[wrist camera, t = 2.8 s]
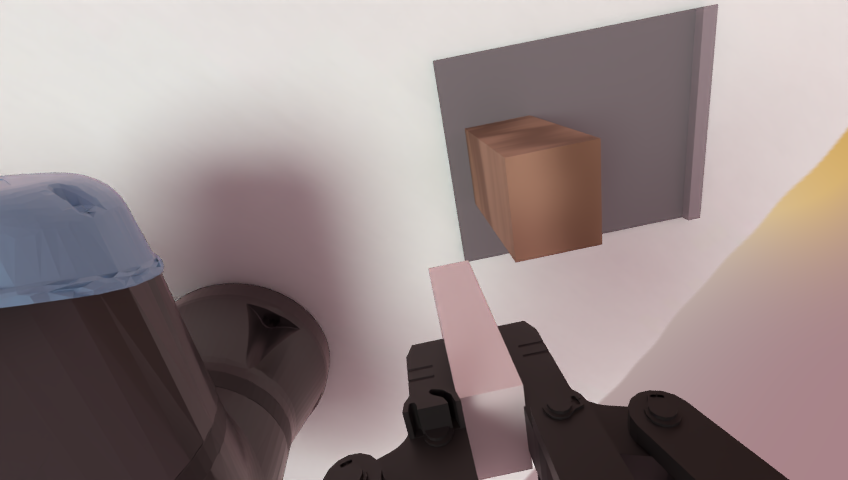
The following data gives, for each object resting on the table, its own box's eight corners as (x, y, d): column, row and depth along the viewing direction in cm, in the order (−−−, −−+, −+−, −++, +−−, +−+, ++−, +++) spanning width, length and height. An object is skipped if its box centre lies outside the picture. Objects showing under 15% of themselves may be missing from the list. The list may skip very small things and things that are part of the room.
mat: (464, 260, 36) (467, 266, 35) (433, 61, 30) (434, 60, 29) (690, 213, 36) (699, 217, 35) (705, 6, 30) (718, 4, 29)
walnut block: (475, 203, 34) (515, 262, 24) (464, 128, 31) (504, 157, 21) (535, 191, 34) (602, 244, 24) (529, 115, 31) (600, 138, 21)
